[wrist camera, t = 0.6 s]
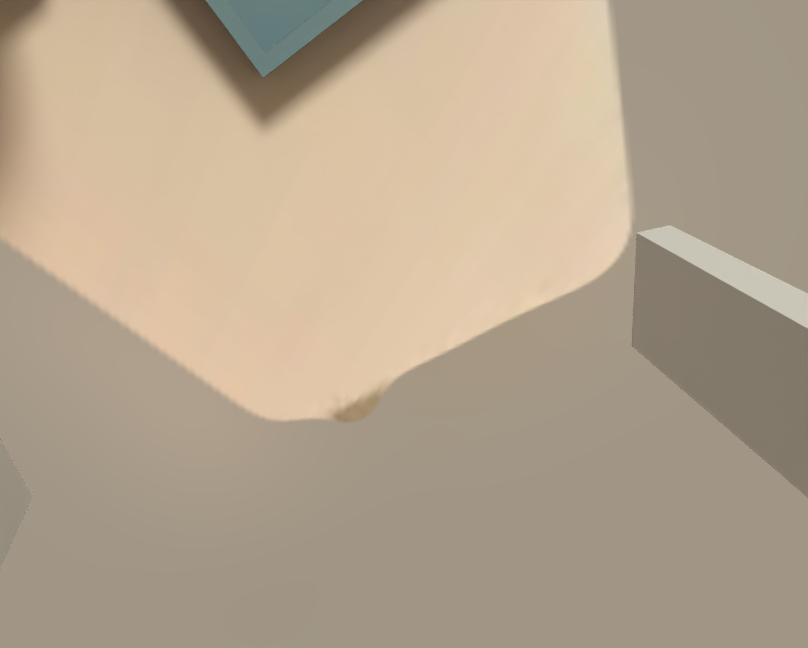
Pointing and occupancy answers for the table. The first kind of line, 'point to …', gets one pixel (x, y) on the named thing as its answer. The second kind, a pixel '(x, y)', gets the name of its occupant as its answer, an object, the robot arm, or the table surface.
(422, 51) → the table surface
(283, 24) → the tray
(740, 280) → the robot arm
